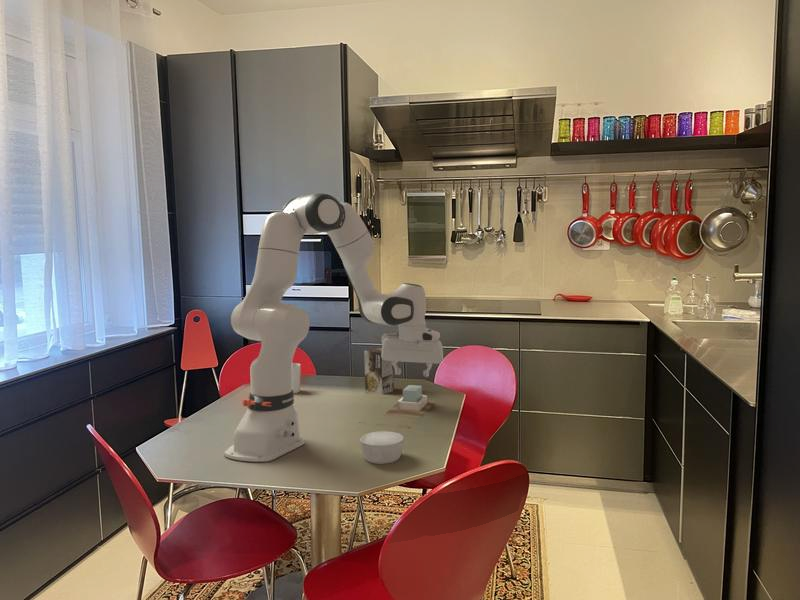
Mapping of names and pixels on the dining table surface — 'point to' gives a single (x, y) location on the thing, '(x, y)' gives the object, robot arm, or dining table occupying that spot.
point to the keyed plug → (412, 393)
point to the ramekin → (382, 446)
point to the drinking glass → (296, 377)
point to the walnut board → (409, 411)
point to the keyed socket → (412, 404)
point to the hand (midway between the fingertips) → (411, 375)
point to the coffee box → (378, 372)
